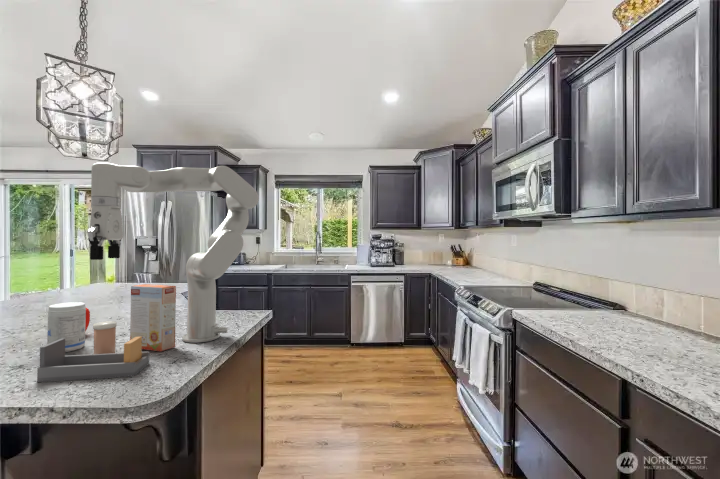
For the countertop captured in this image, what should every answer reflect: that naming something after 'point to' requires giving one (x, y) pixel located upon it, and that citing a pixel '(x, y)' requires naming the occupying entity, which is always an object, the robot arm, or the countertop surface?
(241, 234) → the robot arm
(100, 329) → the terracotta jar
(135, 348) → the lane pusher
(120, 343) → the countertop surface
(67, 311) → the supplement tub
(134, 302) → the cracker box
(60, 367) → the pusher lane
